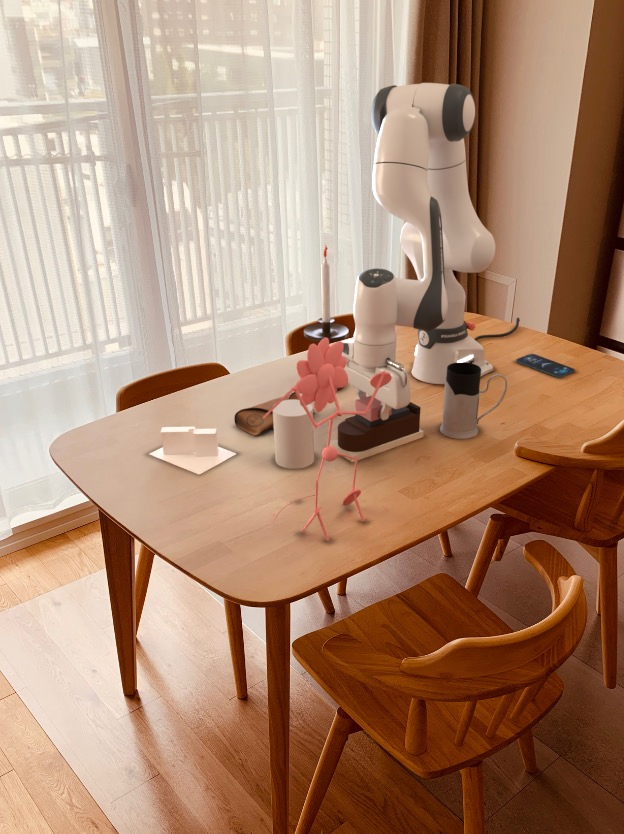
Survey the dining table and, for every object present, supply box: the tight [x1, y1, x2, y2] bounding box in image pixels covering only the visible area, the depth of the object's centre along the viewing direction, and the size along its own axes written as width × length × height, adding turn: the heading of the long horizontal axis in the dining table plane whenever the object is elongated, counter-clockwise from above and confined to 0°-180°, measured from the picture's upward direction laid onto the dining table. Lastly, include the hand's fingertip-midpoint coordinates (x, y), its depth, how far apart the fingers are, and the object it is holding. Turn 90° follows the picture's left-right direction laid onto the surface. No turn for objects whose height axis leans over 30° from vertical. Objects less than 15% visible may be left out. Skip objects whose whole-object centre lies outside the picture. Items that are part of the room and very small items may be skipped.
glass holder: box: [439, 362, 508, 440], centre depth 179 cm, size 9×14×15 cm, turn 91°
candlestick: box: [303, 244, 350, 392], centre depth 193 cm, size 11×11×35 cm
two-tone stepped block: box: [354, 395, 410, 427], centre depth 173 cm, size 11×5×4 cm, turn 128°
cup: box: [273, 399, 315, 470], centre depth 166 cm, size 8×8×12 cm
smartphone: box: [515, 353, 576, 378], centre depth 216 cm, size 8×1×15 cm
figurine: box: [263, 337, 392, 542], centre depth 141 cm, size 15×26×35 cm, turn 137°
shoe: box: [329, 401, 425, 463], centre depth 175 cm, size 20×8×8 cm, turn 129°
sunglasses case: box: [233, 391, 316, 437], centre depth 185 cm, size 18×7×7 cm, turn 135°
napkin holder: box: [148, 426, 237, 475], centre depth 169 cm, size 15×11×6 cm
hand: (373, 412), depth 172 cm, fingers closed on two-tone stepped block, 5 cm apart
